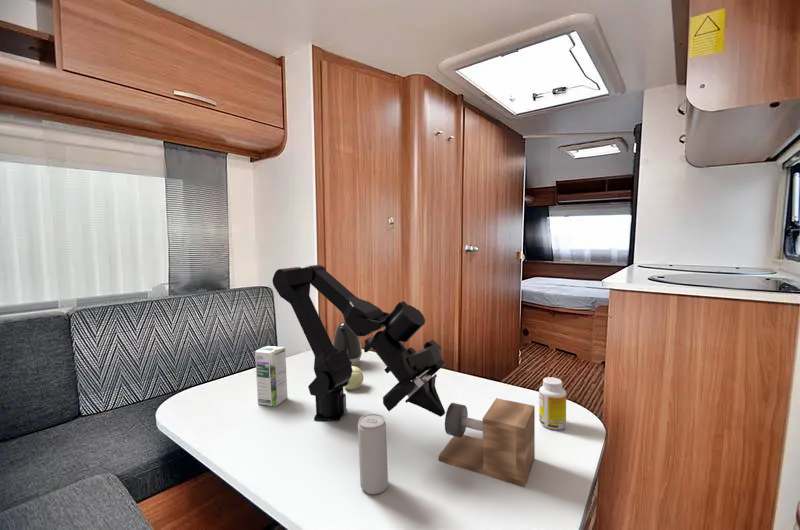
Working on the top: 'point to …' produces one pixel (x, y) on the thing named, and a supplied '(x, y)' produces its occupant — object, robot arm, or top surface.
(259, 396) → the syrup box
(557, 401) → the supplement bottle
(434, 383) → the robot arm
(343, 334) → the dark grey ovoid
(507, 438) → the mount
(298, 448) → the top surface
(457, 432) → the knob
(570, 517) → the top surface
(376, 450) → the beverage can
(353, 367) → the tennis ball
